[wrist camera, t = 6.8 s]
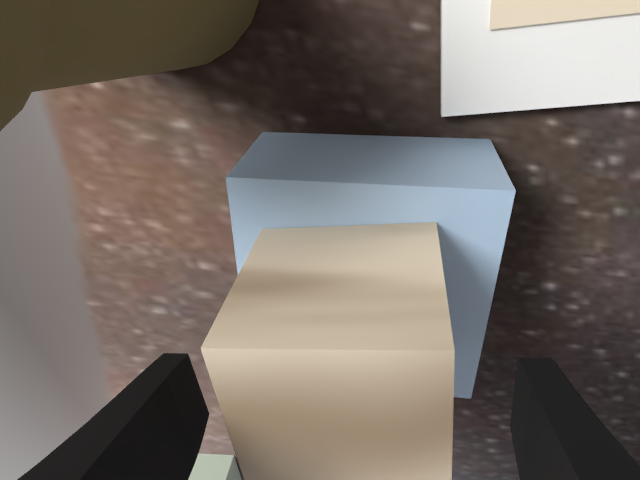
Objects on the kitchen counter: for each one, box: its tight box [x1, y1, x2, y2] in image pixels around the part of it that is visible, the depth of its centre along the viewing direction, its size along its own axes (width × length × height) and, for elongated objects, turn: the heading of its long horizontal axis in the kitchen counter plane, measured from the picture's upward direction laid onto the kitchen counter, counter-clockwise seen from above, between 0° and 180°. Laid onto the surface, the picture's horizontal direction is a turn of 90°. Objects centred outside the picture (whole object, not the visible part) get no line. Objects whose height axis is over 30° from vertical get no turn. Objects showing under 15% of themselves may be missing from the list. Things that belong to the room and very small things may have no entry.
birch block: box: [201, 222, 455, 480], centre depth 11 cm, size 4×4×4 cm
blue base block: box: [226, 132, 516, 399], centre depth 15 cm, size 7×7×4 cm
